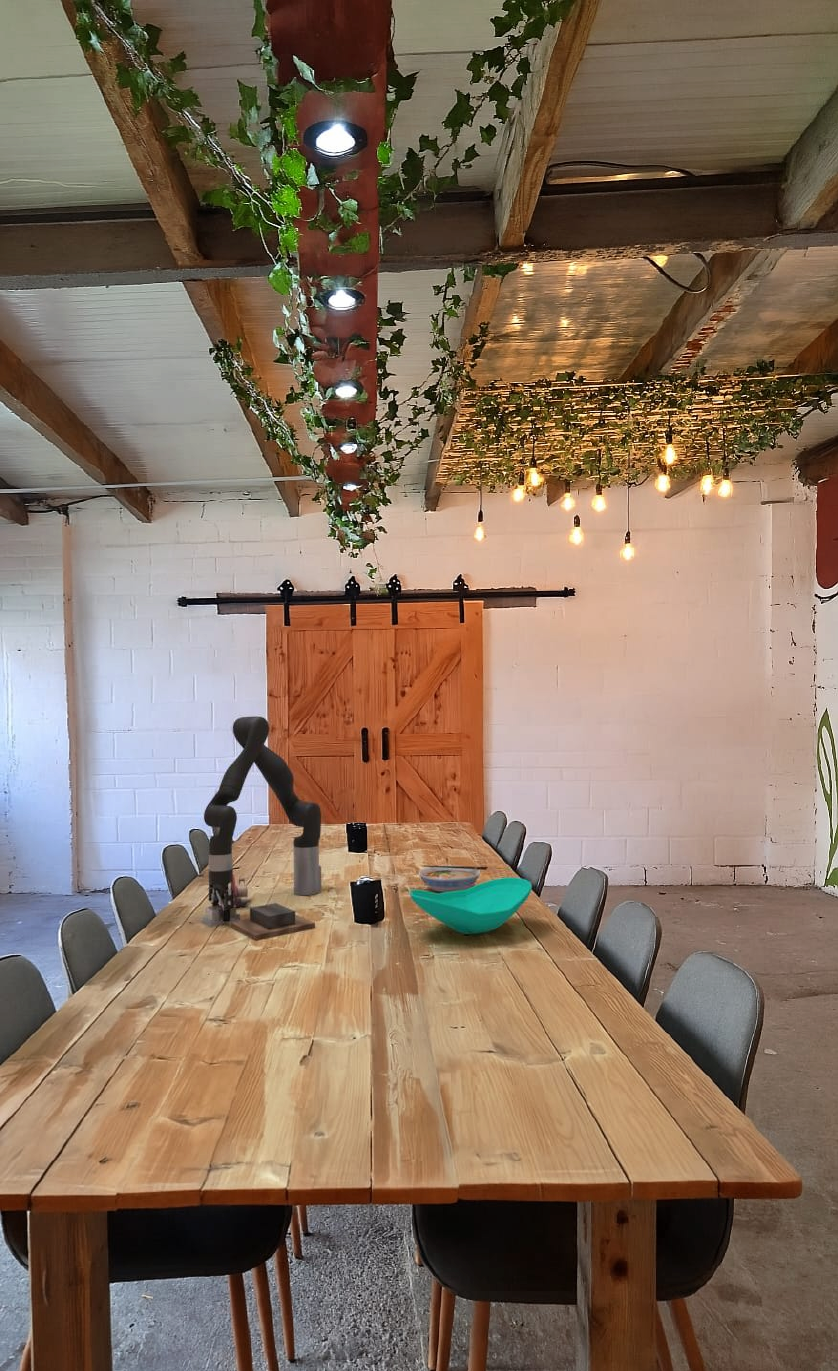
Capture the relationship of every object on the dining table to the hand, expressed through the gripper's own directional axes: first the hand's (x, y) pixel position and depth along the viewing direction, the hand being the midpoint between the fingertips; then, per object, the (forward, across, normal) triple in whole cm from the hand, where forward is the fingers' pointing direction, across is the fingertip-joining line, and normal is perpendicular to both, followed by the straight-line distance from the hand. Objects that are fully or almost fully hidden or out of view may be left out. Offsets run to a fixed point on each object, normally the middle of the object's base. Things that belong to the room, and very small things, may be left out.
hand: (221, 918), depth 248 cm
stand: (+1, -16, -10) cm, 19 cm away
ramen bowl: (+1, -17, -81) cm, 83 cm away
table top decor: (+1, -59, -55) cm, 81 cm away
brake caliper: (+1, +16, -12) cm, 19 cm away
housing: (+1, 0, 0) cm, 1 cm away
